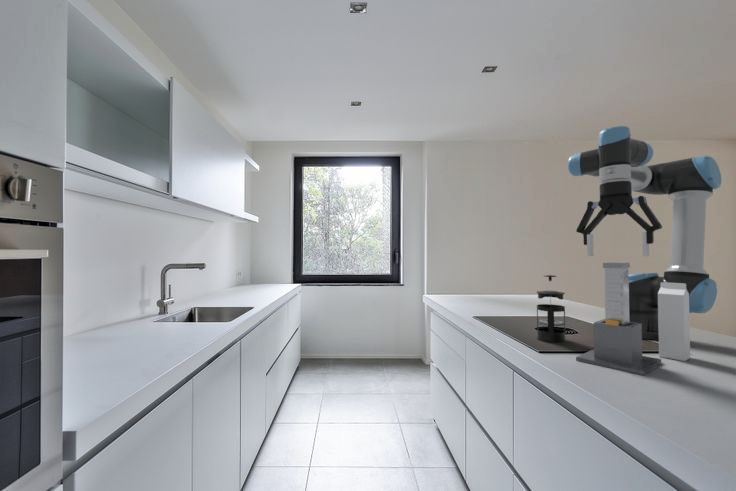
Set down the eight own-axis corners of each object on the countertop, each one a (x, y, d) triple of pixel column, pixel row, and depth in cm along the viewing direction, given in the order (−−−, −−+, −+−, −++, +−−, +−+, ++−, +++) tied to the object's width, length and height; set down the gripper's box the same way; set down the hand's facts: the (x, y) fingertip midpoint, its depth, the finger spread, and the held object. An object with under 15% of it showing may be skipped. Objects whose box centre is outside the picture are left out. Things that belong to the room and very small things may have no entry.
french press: (567, 344, 120) (566, 276, 120) (536, 341, 124) (535, 275, 124) (564, 337, 130) (563, 274, 131) (536, 334, 135) (535, 273, 135)
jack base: (597, 350, 112) (596, 312, 112) (661, 362, 100) (660, 319, 100) (576, 360, 102) (575, 318, 102) (644, 375, 90) (643, 326, 90)
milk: (685, 361, 101) (683, 284, 101) (658, 356, 106) (657, 282, 106) (690, 357, 105) (689, 282, 105) (664, 352, 109) (663, 281, 110)
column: (612, 331, 105) (611, 262, 105) (631, 333, 102) (629, 262, 102) (604, 334, 101) (602, 262, 101) (622, 337, 97) (621, 263, 98)
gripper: (563, 187, 109) (565, 256, 109) (667, 172, 90) (669, 256, 90) (573, 189, 114) (575, 255, 114) (674, 176, 95) (676, 255, 94)
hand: (616, 256), depth 102 cm, fingers open, 13 cm apart
